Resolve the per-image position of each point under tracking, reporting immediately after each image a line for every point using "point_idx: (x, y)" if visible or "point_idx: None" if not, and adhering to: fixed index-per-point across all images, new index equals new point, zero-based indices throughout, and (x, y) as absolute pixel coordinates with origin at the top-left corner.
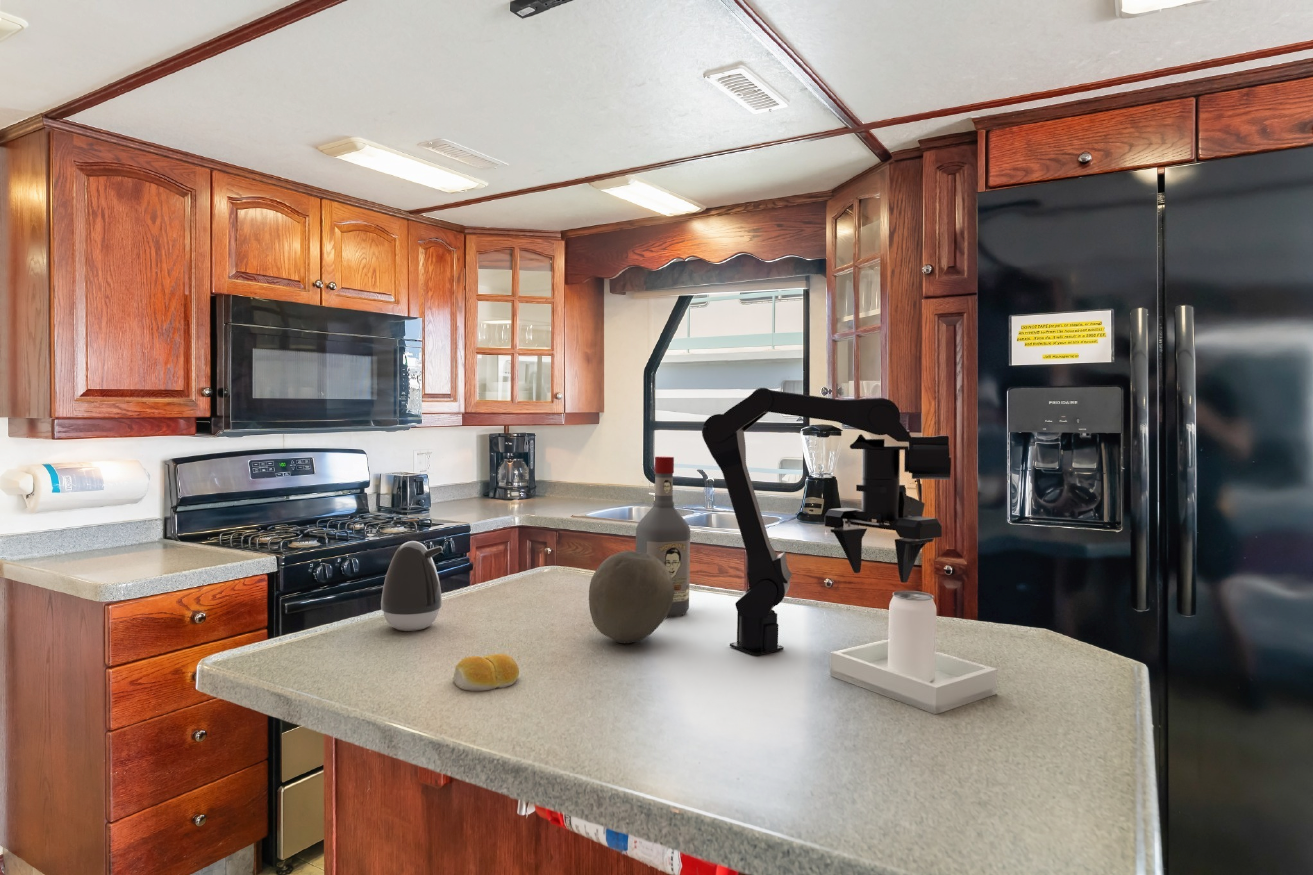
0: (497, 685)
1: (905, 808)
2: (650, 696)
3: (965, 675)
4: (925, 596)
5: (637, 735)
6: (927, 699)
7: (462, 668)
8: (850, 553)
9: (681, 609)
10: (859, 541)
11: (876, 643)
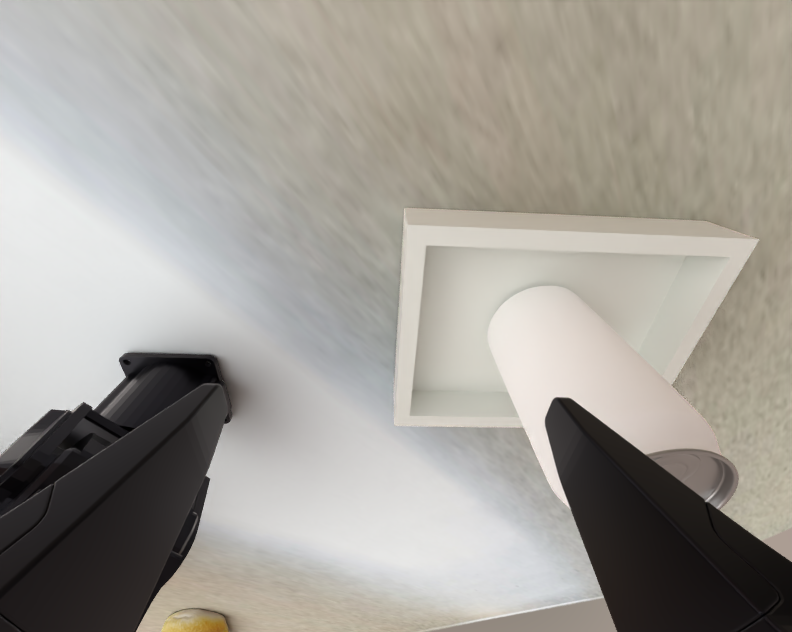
0: (226, 625)
1: None
2: (320, 563)
3: (685, 341)
4: (691, 458)
5: (400, 596)
6: None
7: None
8: (164, 563)
9: None
10: (22, 623)
11: (413, 305)
